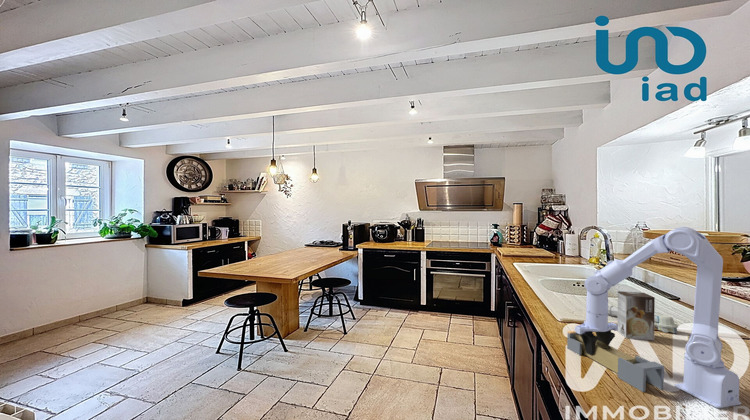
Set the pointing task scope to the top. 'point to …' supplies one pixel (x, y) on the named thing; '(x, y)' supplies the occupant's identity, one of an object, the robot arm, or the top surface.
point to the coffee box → (636, 315)
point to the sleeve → (641, 373)
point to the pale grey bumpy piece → (661, 321)
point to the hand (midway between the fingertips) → (595, 353)
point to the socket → (574, 343)
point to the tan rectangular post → (606, 354)
